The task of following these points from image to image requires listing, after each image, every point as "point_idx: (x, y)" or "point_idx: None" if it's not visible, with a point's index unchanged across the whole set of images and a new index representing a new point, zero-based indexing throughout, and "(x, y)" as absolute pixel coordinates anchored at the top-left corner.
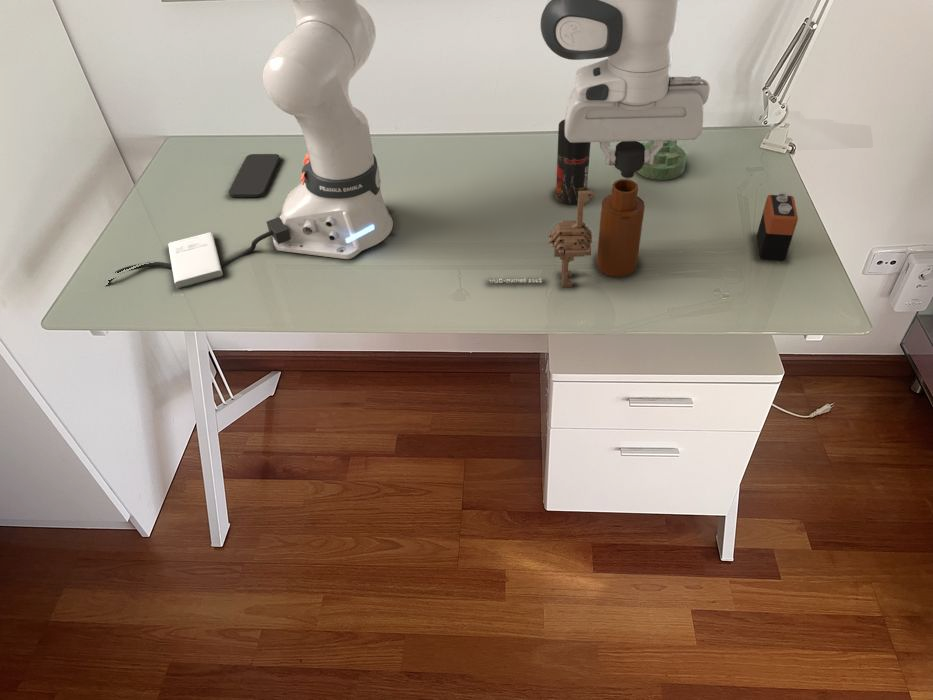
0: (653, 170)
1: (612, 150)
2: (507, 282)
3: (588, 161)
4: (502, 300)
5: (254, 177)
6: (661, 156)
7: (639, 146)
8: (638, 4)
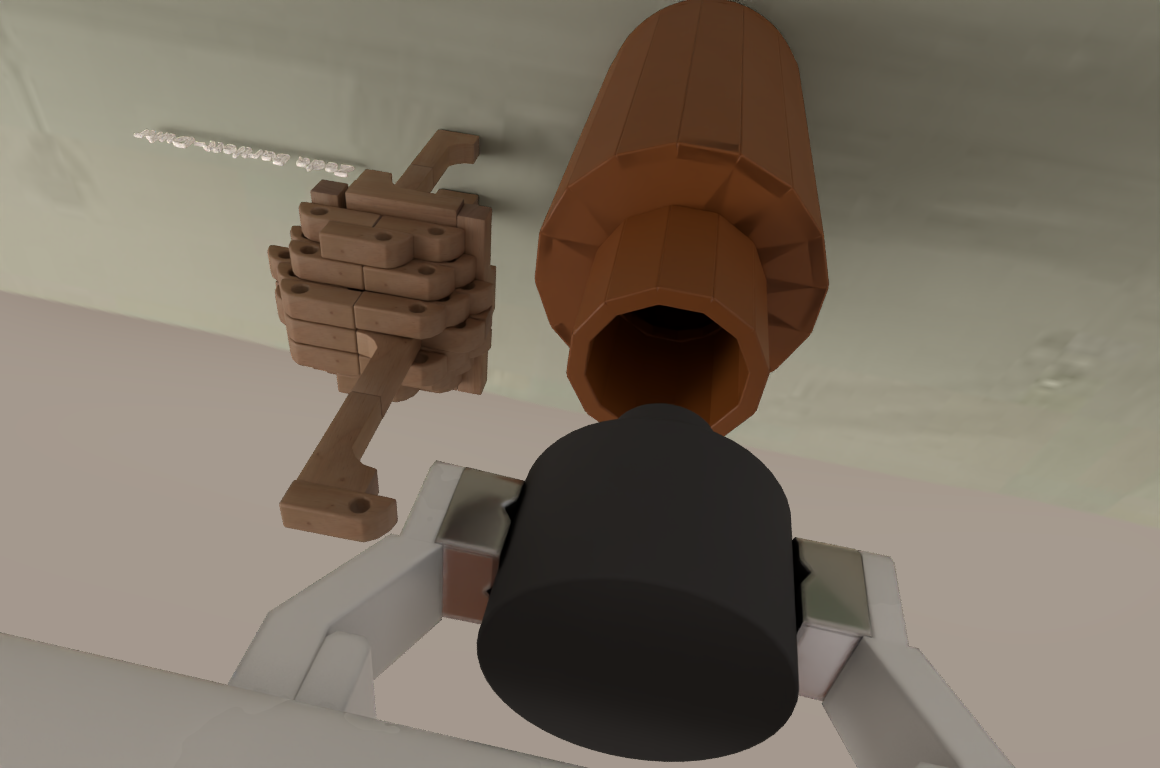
0: None
1: (470, 548)
2: (215, 145)
3: None
4: (218, 230)
5: None
6: None
7: (739, 693)
8: None
